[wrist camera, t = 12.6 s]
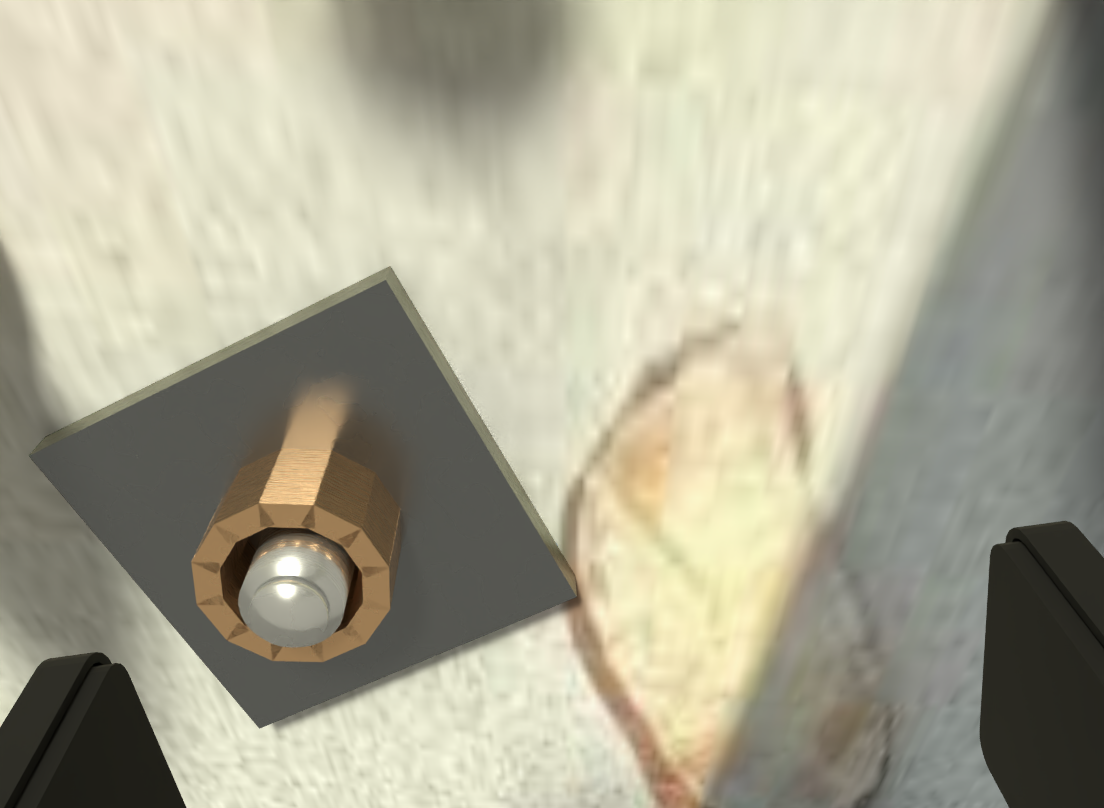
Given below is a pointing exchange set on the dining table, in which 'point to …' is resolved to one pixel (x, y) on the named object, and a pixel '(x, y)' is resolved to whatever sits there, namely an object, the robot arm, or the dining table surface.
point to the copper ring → (302, 502)
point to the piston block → (299, 553)
